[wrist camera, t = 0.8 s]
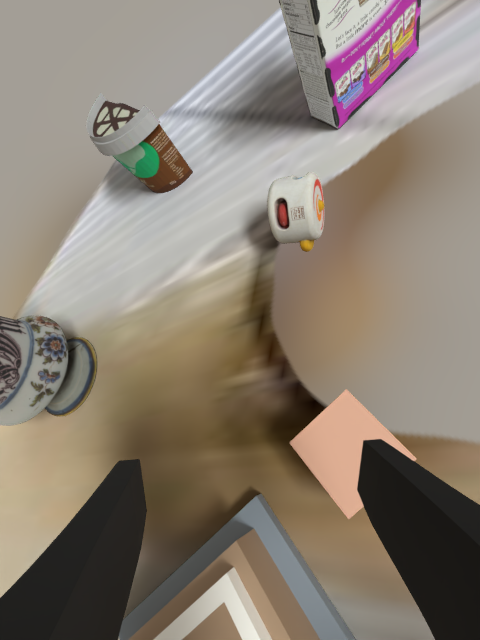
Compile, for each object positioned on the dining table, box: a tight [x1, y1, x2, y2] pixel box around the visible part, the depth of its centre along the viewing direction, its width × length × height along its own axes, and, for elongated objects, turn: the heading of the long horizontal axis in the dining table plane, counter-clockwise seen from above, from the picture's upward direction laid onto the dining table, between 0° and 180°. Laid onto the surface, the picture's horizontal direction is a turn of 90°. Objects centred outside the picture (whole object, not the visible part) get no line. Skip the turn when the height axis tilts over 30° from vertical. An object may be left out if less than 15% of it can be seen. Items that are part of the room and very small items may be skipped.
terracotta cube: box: [289, 390, 416, 519], centre depth 20 cm, size 5×5×5 cm
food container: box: [86, 94, 193, 193], centre depth 39 cm, size 12×6×10 cm, turn 48°
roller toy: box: [267, 172, 324, 252], centre depth 27 cm, size 4×6×6 cm
